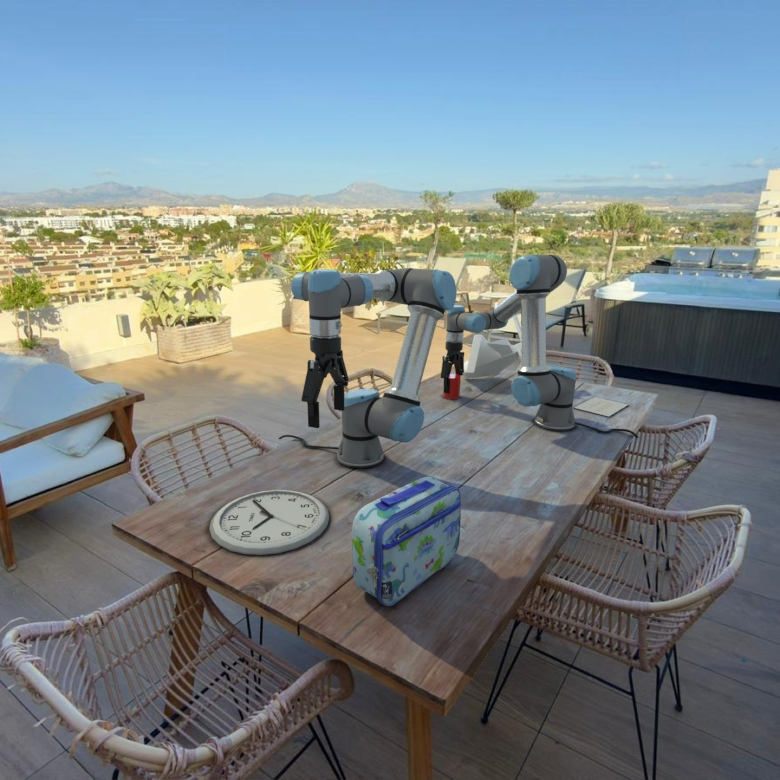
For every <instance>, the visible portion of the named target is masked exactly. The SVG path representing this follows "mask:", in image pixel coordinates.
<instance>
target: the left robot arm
mask: <svg viewBox="0 0 780 780" xmlns="http://www.w3.org/2000/svg"><path fill="white" fill-rule="evenodd" d="M290 291H291V293H292V295H293V297H294V298H295V299H297V300H300V301H304V302H308V313H309V315H308V319H309V326H308V327H309V335H311V336H310V337H309V349H310V350H309V351H310V352H311V353H313V354H314V359H313V360H312V359H308V360H307V368H306V373H305V374H306V375H305V379H304V384H303V390H302V394H301V399H300V400H301V402H303V403H306V405H307V427H308V428H312V429H313V428H315V429H319V428H320V427H321V425H320V401H318V398H319V395H320V393H321V389H322V386H323V384H324V380H325V379H326V378H327V377H328V375H330V376H331V377H330V378H331V379H332V380H333V382H334V384H335V385H333V410H335V411H341V426H342V427H341V429H342V430H341V431H342V437H341V440H340V443H339V445H338V446H322V445H310V444H306V442H305V441H306V440H305V439H304V438H302V437H299V436H296V435H294V434H283V435H281V436H279V437H278V440H282V439H284V438H294V439H296V440H300V441H301V442H302V445H303V446H304V447H306V448H310V449H324V450H337V452H336V460H337V462H338V463H339V464H340V465H342V466H344V467H347V468H352V469H368V468H374V467H376V466H379V465H380V464H382V462H383V461H384V457H385V452H384V450H383V447H382V444H381V441H380V438H379V437H381V438H384V439H386V440H387V439H388V440H391V441H394V442H400V443H409V442H412V441H413V440H414V439H415V438H416V437H417V436H418V435H419V433H420V432H421V430H422V428H423V425H424V422H425V412H424V409H423V408H422V407H421V403H422V401H421V400H420V398H419V391H420V387H421V383H422V380H423V376H424V372H425V368H426V364H427V362H428V357H429V354H430V350H431V346H432V344H433V343H432V342H433V339H434V335H435V331H436V327H437V324H438V321H440V320H441V319H443V318H444V315H445V312H446V311H447V310H450V309H451V308H452V307H453V306H454V305H456V301H457V285H456V280H455V277H454V276H453V275H452V274H451V272H450V271H447V270H441V269H438V268H437V269H436V268H435V269H429V268H413V267H403V268H395V269H394V268H393V269H380V270H377V271H376V272H374V273H371V272H363V273H362V272H340V271H339V270H338V269H313V270H311V271H299V272H297V273H296V274H294V276H293V277H292V279H291V282H290ZM372 299H376V300H377V301H379V302H389V303H395V304H400V305H403V306H404V305H405V306H407V307H406V309H407V310H408V312H409V318H408V322H407V325H406V329H405V332H404V336H403V340H402V343H401V347H400V352H399V355H398V359H397V362H396V365H395V370H394V374H393V376H392V381H391V385H390V387H389V389H386V390H385V391H384V392H383V395H382V397H380V393H379V390H377V389H373V388H360V389H359V388H358V389H354V390H350V391H348V392H346V393H345V387H348V386H349V375H348V372H347V367H346V363H345V360H344V352H343V350H342V337H341V336H340V335H341V334H342V326H343V323H342V322H341V321H342V319H341V318H342V309H344V308H351V307H360V306H362V305H365V304H368V303H369V302H370V301H372Z"/></svg>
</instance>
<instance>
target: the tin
mask: <svg viewBox="0 0 780 780" xmlns="http://www.w3.org/2000/svg"><path fill="white" fill-rule="evenodd" d="M461 377H462V375H461V376H460V375H457V374H456V373H450V376H449V379H450V391H449V394H448V393H444V391H442V392H443V395H442V397H443V398H444V399H448V400H457V399H459V398H460V393H461Z"/></svg>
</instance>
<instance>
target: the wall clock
mask: <svg viewBox="0 0 780 780" xmlns="http://www.w3.org/2000/svg"><path fill="white" fill-rule="evenodd" d="M329 521H330V514H329V509H328V507H327V506H326V505H325V504H324V503H323V502H322V501H321V500H320V499H318V498H317V497H315V496H313V495H310V494H308V493H304V492H301V491H295V490H291V489H290V490H288V489H272V490H270V489H269V490H262V491H258V492H252V493H249V494H246V495H244V496H240V497H238V498H235V499H234V500H231V501H230V502H229V503H226V504H225V505H224V506H223V507H222V508H221V509H219V510H218V511H216V513H215V514H214V516H213V517H212V518H211V521H210V524H209V533H210V536H211V539H212V540H213V541H214V542H215V543H216V544H217V545H218V546H219V547H222V548H224V549H226V550H228V551H230V552H234V553H237V554H243V555H254V556H266V555H274V554H275V555H276V554H281V553H285V552H289V551H292V550H296V549H298V548H301V547H304V546H305V545H307V544H309V543H311V542H313V541H314V540H316V539H317V538H318V537H319V536H321V535H322V534H323V532H324V531H325V530H326V529H327V527H328V525H329Z"/></svg>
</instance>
